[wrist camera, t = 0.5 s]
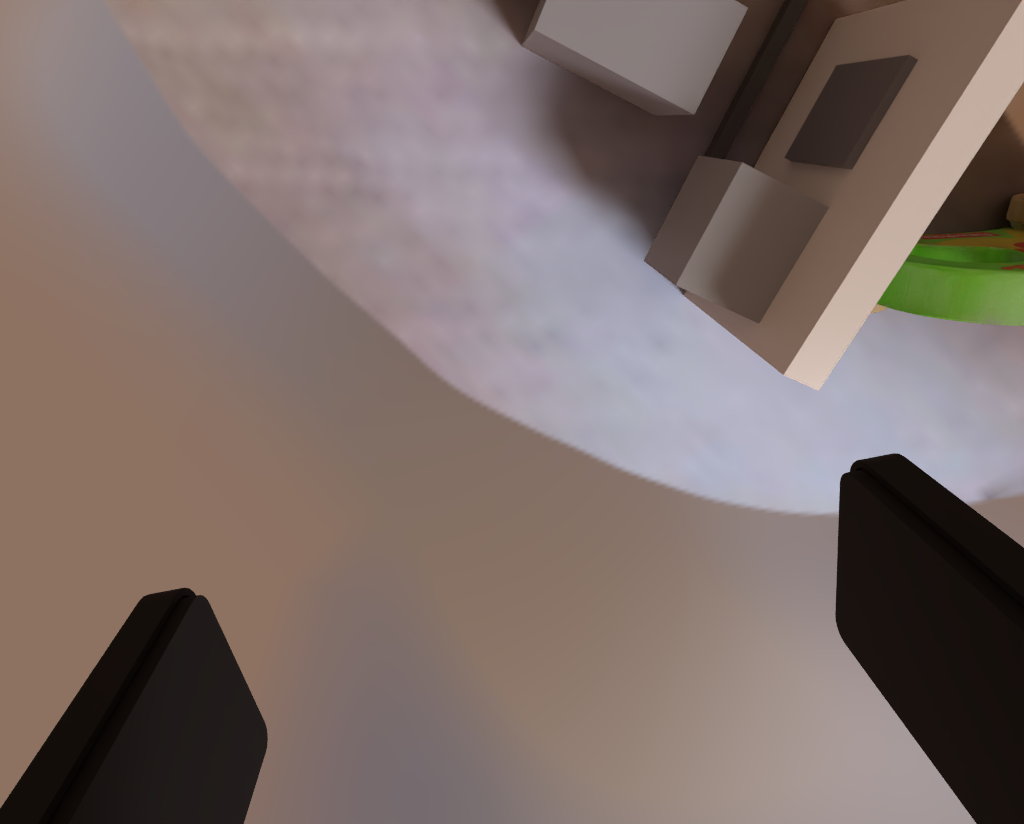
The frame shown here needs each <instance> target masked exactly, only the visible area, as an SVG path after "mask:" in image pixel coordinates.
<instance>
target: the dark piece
mask: <svg viewBox="0 0 1024 824" xmlns="http://www.w3.org/2000/svg"><path fill="white" fill-rule="evenodd" d="M807 2H808V0H786V1H785V3H784V4H783V6H782V8H781V10H780V12H779V14H778V16H777V18H776V20H775V22H774V24H773V26H772V28H771V29H770V31H769V33H768V35H767V37H766V39H765V41H764V43H763V45H762V47H761V49H760V51H759V52H758V54H757V56H756V58H755V60H754V62H753V64H752V66H751V68H750V70H749V72H748V74H747V76H746V77H745V79H744V81H743V83H742V85H741V87H740V89H739V91H738V93H737V95H736V97H735V99H734V100H733V102H732V104H731V106H730V108H729V110H728V112H727V114H726V116H725V118H724V120H723V122H722V124H721V125H720V127H719V129H718V131H717V133H716V135H715V137H714V139H713V141H712V143H711V145H710V147H709V148H708V150H707V152H706V154H705V157H712V158H718V159H724V158H725V156H726V154H727V152H728V150H729V148H730V147H731V145H732V143H733V141H734V139H735V137H736V135H737V133H738V131H739V130H740V128H741V126H742V124H743V122H744V120H745V118H746V116H747V115H748V113H749V111H750V109H751V107H752V105H753V103H754V101H755V100H756V98H757V96H758V94H759V92H760V90H761V88H762V86H763V84H764V83H765V81H766V79H767V77H768V75H769V73H770V71H771V69H772V68H773V66H774V64H775V62H776V60H777V58H778V56H779V54H780V53H781V51H782V49H783V47H784V45H785V43H786V41H787V39H788V37H789V36H790V34H791V32H792V30H793V28H794V26H795V24H796V22H797V21H798V19H799V17H800V15H801V13H802V11H803V9H804V7H805V6H806V4H807Z"/></svg>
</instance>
